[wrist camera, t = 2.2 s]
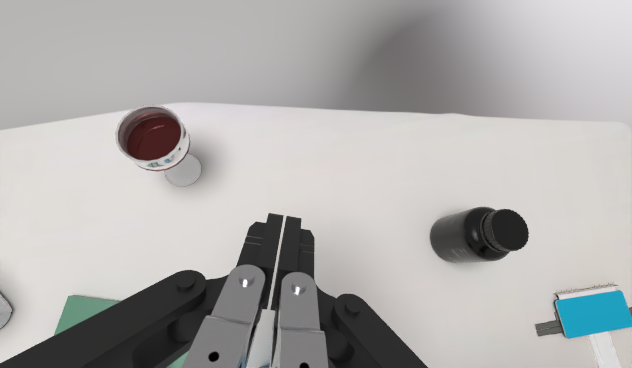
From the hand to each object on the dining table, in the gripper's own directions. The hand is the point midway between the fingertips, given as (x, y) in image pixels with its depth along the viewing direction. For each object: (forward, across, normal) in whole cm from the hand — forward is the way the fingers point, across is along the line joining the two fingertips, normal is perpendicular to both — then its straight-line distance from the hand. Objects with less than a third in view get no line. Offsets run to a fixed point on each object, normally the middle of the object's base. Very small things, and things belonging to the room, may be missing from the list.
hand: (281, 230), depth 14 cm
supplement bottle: (+24, -26, +15) cm, 39 cm away
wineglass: (+27, +15, +13) cm, 34 cm away
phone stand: (+18, -49, +22) cm, 57 cm away
